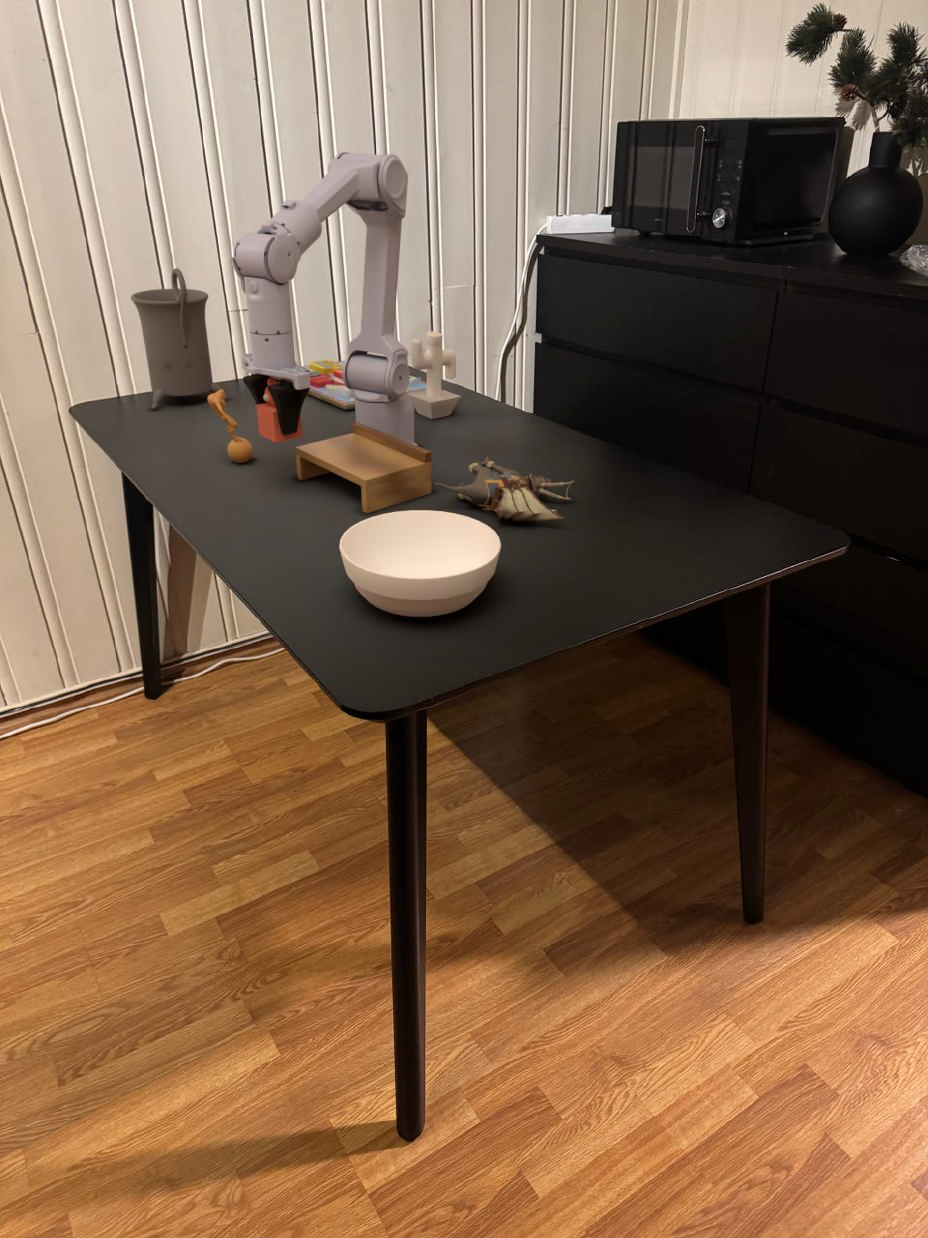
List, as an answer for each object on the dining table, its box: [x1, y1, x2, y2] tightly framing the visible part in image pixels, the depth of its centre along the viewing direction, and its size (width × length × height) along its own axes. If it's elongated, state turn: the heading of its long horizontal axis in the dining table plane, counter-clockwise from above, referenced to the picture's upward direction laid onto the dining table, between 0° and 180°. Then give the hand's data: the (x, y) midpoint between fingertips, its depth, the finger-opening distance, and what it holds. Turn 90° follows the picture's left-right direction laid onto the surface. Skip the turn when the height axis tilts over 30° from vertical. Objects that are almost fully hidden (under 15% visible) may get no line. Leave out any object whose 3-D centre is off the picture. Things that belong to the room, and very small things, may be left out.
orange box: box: [255, 378, 303, 444], centre depth 122 cm, size 4×4×8 cm
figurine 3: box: [433, 456, 574, 523], centre depth 122 cm, size 20×6×17 cm
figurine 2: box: [407, 330, 462, 420], centre depth 160 cm, size 7×9×15 cm
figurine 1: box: [207, 388, 254, 464], centre depth 136 cm, size 8×6×12 cm
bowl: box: [338, 509, 502, 618], centre depth 100 cm, size 18×18×7 cm
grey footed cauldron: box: [130, 267, 229, 410], centre depth 163 cm, size 19×15×25 cm
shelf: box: [294, 422, 432, 514], centre depth 130 cm, size 12×18×6 cm, turn 42°
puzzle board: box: [298, 359, 427, 411], centre depth 180 cm, size 30×23×3 cm
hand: (280, 428), depth 123 cm, fingers closed on orange box, 4 cm apart
